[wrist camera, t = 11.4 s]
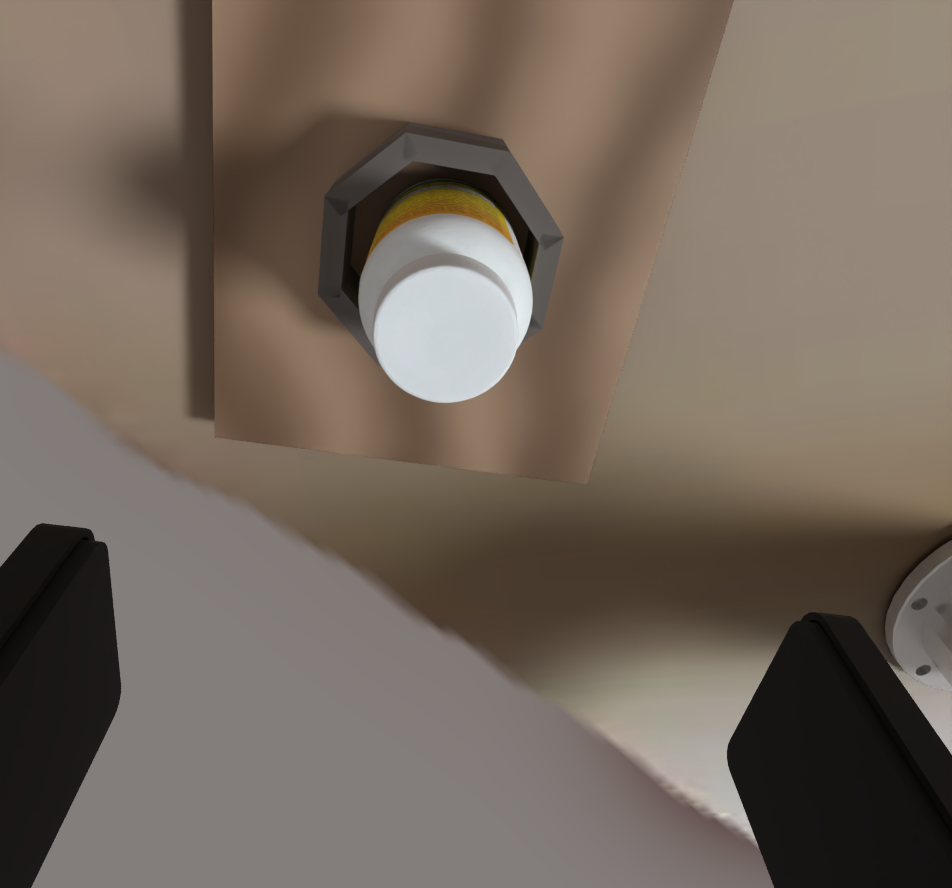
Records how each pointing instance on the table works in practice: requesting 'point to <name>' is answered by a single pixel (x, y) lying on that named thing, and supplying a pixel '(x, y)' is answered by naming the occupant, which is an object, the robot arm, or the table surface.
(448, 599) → the table surface
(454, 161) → the holder
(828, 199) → the table surface
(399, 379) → the supplement bottle
